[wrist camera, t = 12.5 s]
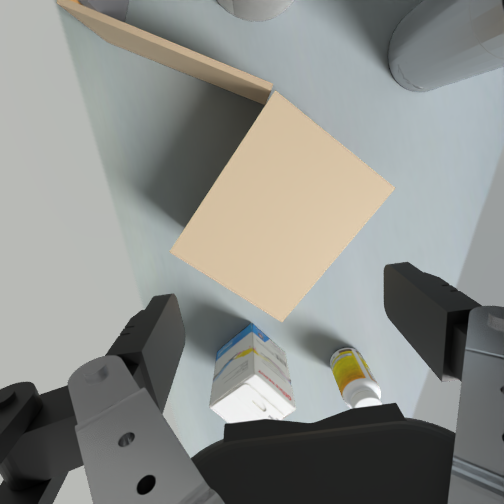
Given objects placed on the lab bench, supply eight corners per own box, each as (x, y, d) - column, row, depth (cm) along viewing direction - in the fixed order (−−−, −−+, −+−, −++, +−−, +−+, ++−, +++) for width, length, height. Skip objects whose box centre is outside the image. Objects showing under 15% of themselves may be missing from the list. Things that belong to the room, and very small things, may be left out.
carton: (268, 105, 38) (275, 90, 29) (361, 179, 41) (395, 188, 32) (186, 229, 43) (169, 251, 34) (274, 287, 46) (282, 322, 37)
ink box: (215, 351, 50) (206, 408, 39) (252, 321, 48) (253, 372, 37) (250, 381, 52) (251, 444, 41) (286, 353, 51) (298, 411, 39)
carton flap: (283, 51, 36) (303, -4, 23) (265, 105, 38) (274, 81, 25) (118, -19, 34) (36, -125, 21) (107, 42, 36) (26, -21, 23)
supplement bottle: (323, 367, 52) (340, 417, 42) (338, 341, 50) (360, 387, 40) (351, 377, 52) (375, 428, 43) (367, 352, 51) (396, 400, 41)
